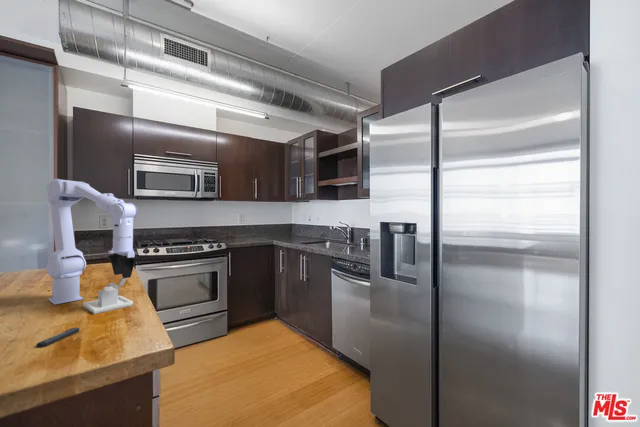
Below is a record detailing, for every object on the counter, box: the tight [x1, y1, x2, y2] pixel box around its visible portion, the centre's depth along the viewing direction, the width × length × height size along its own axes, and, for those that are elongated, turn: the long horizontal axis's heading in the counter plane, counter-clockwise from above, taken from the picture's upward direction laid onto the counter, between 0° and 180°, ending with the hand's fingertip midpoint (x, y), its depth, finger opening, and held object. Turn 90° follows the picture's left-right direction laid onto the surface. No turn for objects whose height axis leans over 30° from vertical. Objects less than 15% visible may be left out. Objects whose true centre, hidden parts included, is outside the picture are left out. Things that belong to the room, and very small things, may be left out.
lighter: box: [104, 277, 128, 296], centre depth 108 cm, size 7×2×8 cm, turn 130°
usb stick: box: [35, 327, 80, 348], centre depth 72 cm, size 10×3×2 cm, turn 176°
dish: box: [82, 295, 134, 315], centre depth 97 cm, size 11×11×1 cm
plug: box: [97, 286, 118, 307], centre depth 97 cm, size 4×4×6 cm
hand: (122, 276), depth 97 cm, fingers open, 7 cm apart
